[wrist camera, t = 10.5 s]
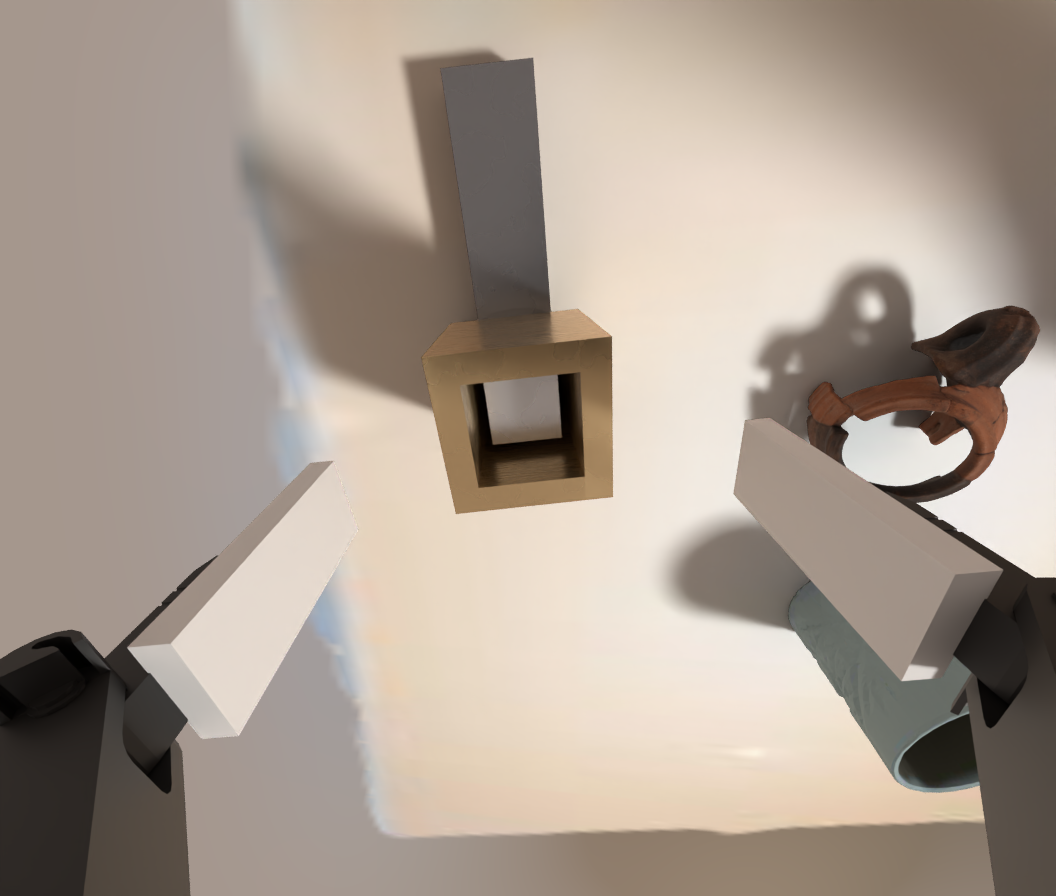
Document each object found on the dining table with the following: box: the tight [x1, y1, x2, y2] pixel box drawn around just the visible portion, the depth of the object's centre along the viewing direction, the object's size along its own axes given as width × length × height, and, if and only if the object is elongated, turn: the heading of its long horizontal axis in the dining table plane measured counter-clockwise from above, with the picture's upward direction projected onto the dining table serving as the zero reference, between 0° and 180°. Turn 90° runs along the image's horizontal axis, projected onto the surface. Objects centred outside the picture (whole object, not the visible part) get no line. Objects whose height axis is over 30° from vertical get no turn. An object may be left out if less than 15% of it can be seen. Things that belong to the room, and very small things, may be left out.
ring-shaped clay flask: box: [807, 306, 1040, 503], centre depth 24 cm, size 12×10×8 cm
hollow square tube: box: [421, 309, 613, 514], centre depth 20 cm, size 7×7×8 cm
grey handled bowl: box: [441, 58, 563, 445], centre depth 20 cm, size 8×18×7 cm, turn 6°
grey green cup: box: [788, 581, 980, 793], centre depth 30 cm, size 10×10×12 cm
